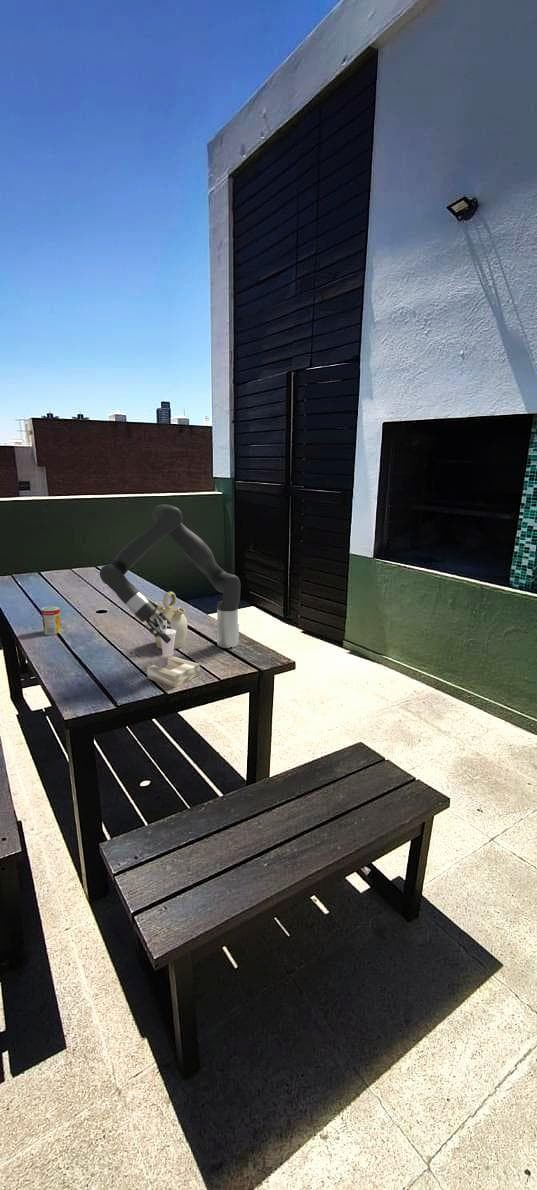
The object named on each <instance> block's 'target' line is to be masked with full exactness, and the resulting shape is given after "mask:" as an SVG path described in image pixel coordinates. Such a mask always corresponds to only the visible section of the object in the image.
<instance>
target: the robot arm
mask: <svg viewBox="0 0 537 1190" xmlns="http://www.w3.org/2000/svg"><path fill="white" fill-rule="evenodd" d="M152 510H153V511H152V520H153V521H154V524H153V525H152V526H151V527H150V528H148V529H147V530H146V531H145V532H143V533H141V534H140V535H138V536H137V537H135V538H133V539H132V540H130V541H129V542H128V543H127V544H126V545H125V546H124V547H123V548H122V549H121V550H120V551H119V552H118V553H117V554H116V557H115V558H114V559H113V560H112V561H111V562H110V563H109V564H105V565H104V566H102V567H101V569H100V571H99V577H100V579H101V581H102V583H103V584H105V585H106V586H107V587H109V588H110V590H111V591H113V592H114V593H115V594H116V596H117V598H119V600H121V601H122V603H123V604H125V606H126V607H127V609H128V610H129V611H130V612H132V614H133V615H134V616H135V617H136V618H137V619H138V620H139V621H140V622H141V623H144V622H146V624H145V625H144V628H145V630H147V631H148V632H149V633H150V634H152V635H153V637H154V636H155V637H157V636H158V637H161V638H162V639H163V640H164V641H165V642H166V643H168V642H169V641H170V640H171V639H170V638H169V637H168V636H167V635H166V634H165V633H164V631H163V630H162V628H163V629H165V620H167V629H172V628H171V627H170V624H171V622H170V621H169V620H168V619H167V618H166V617H165V616H164V615H163V613H161V612H160V613H159V614H158V612H156V611H157V609H158V608H157V606H155V605H154V604H153V603H152V602H151V601H150V600H149V599H148V598H147V597H146V596H145V595H144V594H142V592H140V590H139V589H138V588H137V587H135V585H133V584H132V583H131V582H130V581H129V580H128V578H127V577H126V576H125V575H126V574H127V572H128V571H129V570H130V569H131V568H132V567H134V565H136V563H137V562H138V561H140V559H142V557H143V556H144V555H145V554H146V553H147V552H148V551H149V550H150V549H151V548H153V547H154V546H155V545H156V544H157V543H159V542H160V541H161V540H162V539H164V538H166V536H169V537H170V538H172V540H173V541H174V543H175V544H176V545H177V546H178V547H179V549H180V550H181V551H182V552H183V554H185V556H186V557H187V558H188V559H189V561H191V562H192V563H193V564H194V565H195V566H196V567H197V569H199V570H200V571H201V572H202V573H203V574H204V575H205V577H206V578H207V579H208V581H209V582H210V583H211V584H212V586H213V587H214V589H215V590H216V591H217V592H219V593H221V594H222V600H219V601H218V602H217V604H216V607H217V608H216V613H217V614H216V618H217V619H216V620H217V621H216V623H217V625H216V627H217V636H216V638H217V647H220V648H223V649H230V647H232V648H235V647H237V646H238V644H239V639H240V638H239V636H240V635H239V633H240V631H239V630H240V629H239V628H240V626H239V625H240V624H239V618H238V617H239V604H240V602H241V601H240V599H241V587H242V586H241V585H242V584H241V581H240V578H239V576H237V575H235V574H232V573H228V572H226V571H225V570H224V569H223V568H221V567H220V566H219V565H218V563H217V562H216V559H215V557H214V554H213V551H212V550H211V548H210V547H209V546H208V545H207V543H206V542H205V541H204V540H203V539H202V538H201V537H199V535H197V534H196V533H194V532H193V531H192V530H190V529H189V528H187V526H185V525H184V524H183V523H182V522H183V513H182V511H181V510H180V509H179V508H178V507H177V506H175V505H174V506H173V505H170V504H166V503H161V504H158V505H156V506H155V507H154V508H153V509H152ZM159 630H160V631H159ZM153 631H154V632H153ZM155 632H156V633H155ZM176 634H177V633H176ZM176 634H175V635H176ZM155 637H154V638H155Z"/></svg>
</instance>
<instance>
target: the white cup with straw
mask: <svg viewBox="0 0 537 1190" xmlns="http://www.w3.org/2000/svg"><path fill="white" fill-rule="evenodd" d="M162 630H163V631H164V633H165V634H166V635H167V636H168V637H169V638H170V639H171V640H170V641H169V642H168V643H166V642H165V641H164V640H163V639H162V638H161V637H160V638H161V645H162V649H161V650H162V656H163V657H165V658H170V657H172V656H174V650H175V649H174V641H175V634H176V630H174V629H167V620H165V629H162Z"/></svg>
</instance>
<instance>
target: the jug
mask: <svg viewBox="0 0 537 1190" xmlns="http://www.w3.org/2000/svg"><path fill="white" fill-rule="evenodd" d="M176 595H177V594H175V592H174V591H167V592H166V593H164V595H163V597H162V605H160V604H157V606H156V608H157V610H156V611H158V612H157V614H159V613H160V612H161V613H163V615H164V616H165V617H166V618H167V619H168V620H169V621H170V622H171V624H170V627H171V628H172V629H174V630H176V633H177V634H176V635H175V641H174V650H176V649H180V648H182V647H183V646H184V645H185V641H186V637H187V632H188V620H187V618H186V616H185V613H186V611H185V608H183V607H181V606H177V609H175V605H176V602H177V596H176ZM170 597H171V600H170V603H168V602H169V598H170ZM162 629H163V628H162ZM159 631H160V630H159ZM153 632H154V631H153ZM155 633H156V632H155ZM153 637H154V641H155V644H156V645H155V646H156V647H157V648H158V649H160V650H162V645H161V638H160V637H158V636H157V637H155V636H154V635H153Z"/></svg>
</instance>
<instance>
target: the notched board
mask: <svg viewBox="0 0 537 1190" xmlns="http://www.w3.org/2000/svg"><path fill="white" fill-rule="evenodd" d="M146 668H147V670H146V671H147V679H149V680H151V681H154V682H158V683H160V684H163V685H166V686H170V687H172V688H175V687H176V688H177V686H178V687H180V686H181V685H183V684H185V683H187V682H189V681H190V680H192V678H193V679H195V678H196V676H197V677H198V676H200V674H201V672H200V671H201V669H200V668H201V664H200V663H197V662H193V661H190V660H187V659H183V658H179V657H177V656H174V655H173V656H171V657H167V665H165V666H163V667H160V666H157V665H154V664H152V665H150V666H148V667H146ZM194 677H195V678H194Z"/></svg>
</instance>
